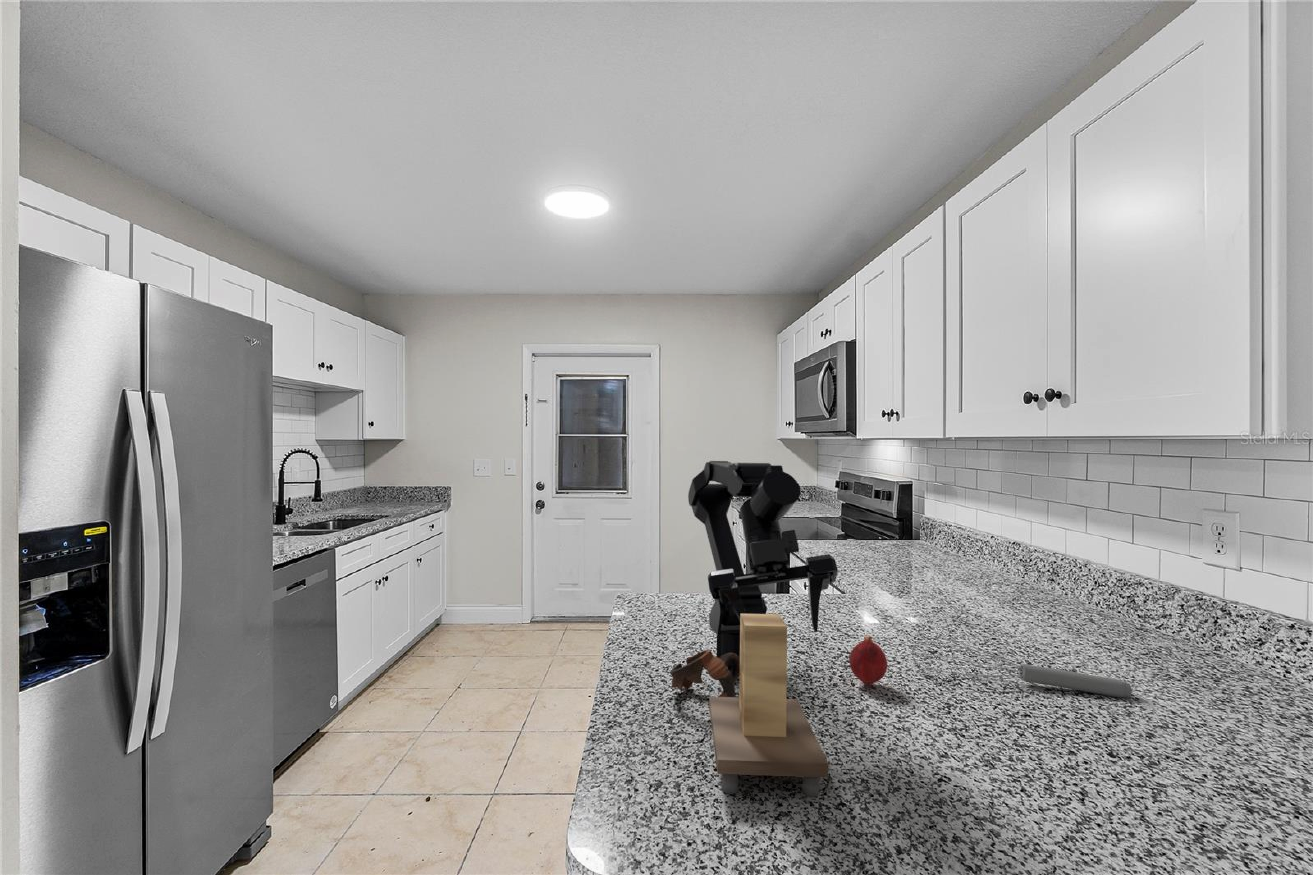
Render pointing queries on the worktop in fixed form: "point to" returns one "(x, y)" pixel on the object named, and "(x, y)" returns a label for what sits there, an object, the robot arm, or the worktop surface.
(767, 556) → the robot arm
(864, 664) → the onion
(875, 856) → the worktop surface
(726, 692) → the brown jagged curved piece
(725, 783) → the footed wooden board
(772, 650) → the wooden block
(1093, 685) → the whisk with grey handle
